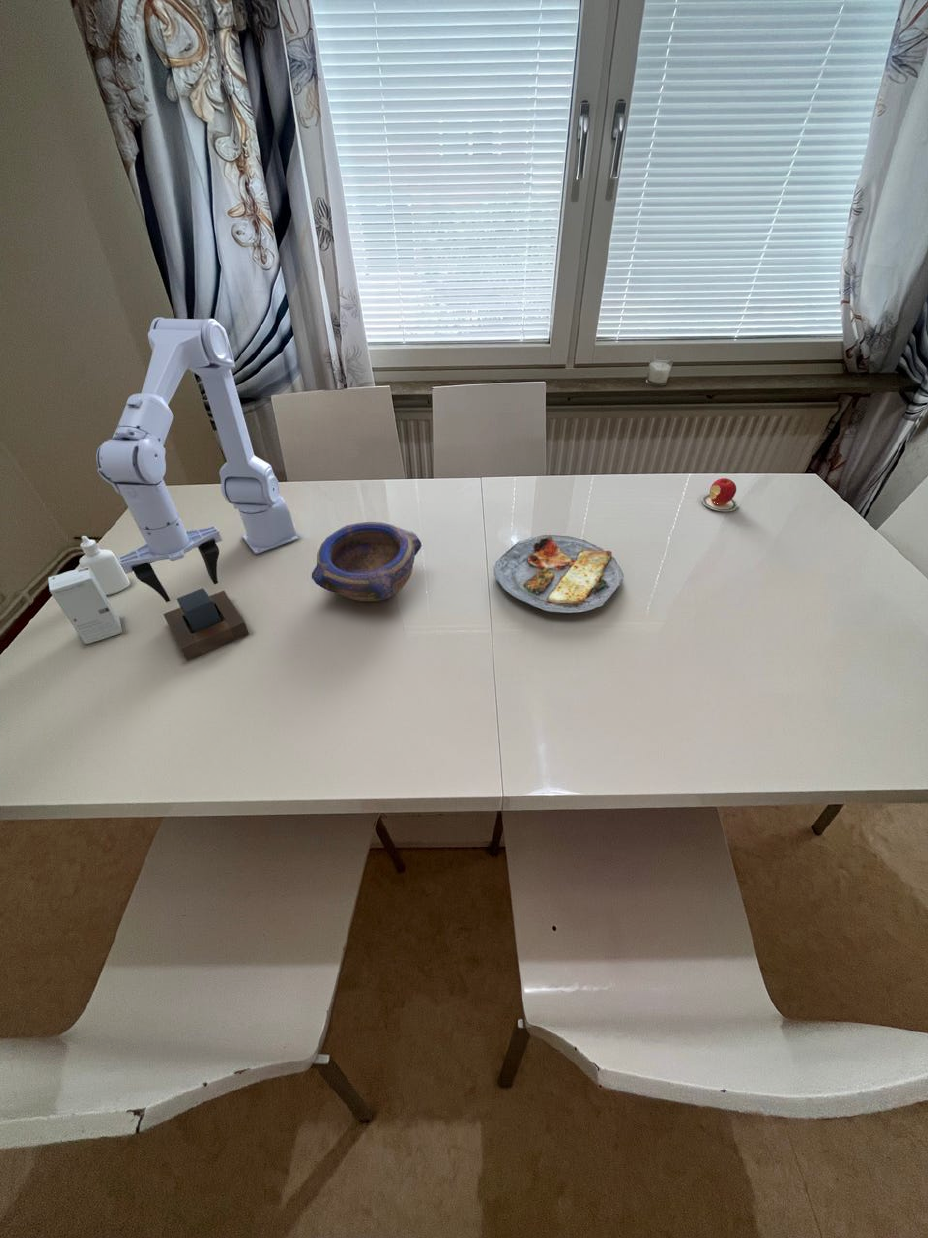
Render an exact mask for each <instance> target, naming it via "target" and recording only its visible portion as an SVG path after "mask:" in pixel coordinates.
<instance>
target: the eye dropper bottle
mask: <svg viewBox="0 0 928 1238" xmlns="http://www.w3.org/2000/svg"><path fill="white" fill-rule="evenodd" d="M81 540H82V542H81V543H80V545H79V546H80V549H81V550H82V551H83V553H84V555H83V556H82V557H80V558H79V565H80V567H81V568H85V567H90V569H91V571H92V573H93V574H94V576H95V578H96V580H97V581H98V583H99V585H100V586H101V588H102V590H103V592H104V593H105V595H106V596H109V595H114V594H116V593H119V592H121V591H123V590H125V589H127V588H129V587H130V585H131V581H130V580H129V578H128V576H127V574H125V572H124V570H123V568H122V567H121V565H120V563H119V561H118V558H117V556H116V555H115V554H114V552H113V551H112V550H111V549H105V548H103V549H101V548H100V546H99V544H98V543H97V541H96V540H94V539H89V537H88V536H86V535H82V536H81Z"/></svg>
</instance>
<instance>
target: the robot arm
mask: <svg viewBox="0 0 928 1238" xmlns="http://www.w3.org/2000/svg"><path fill="white" fill-rule="evenodd" d="M226 330H227V329H225V327H223V326H222V324H220V323H219V322H218V321H217V320H216V319H214V318H206V319H199V318H198V319H196V318H194V319H193V318H191V319H190V318H164V317H155V318H154V319H153V320H152V321H151V323H150V327H149V331H148V333H147V339H148V343H149V347H150V350H151V356H150V360H149V363H148V368H147V371H146V375H145V379H144V382H143V386H142V389H141V393H134V394H131V395H129V397H128V398H127V401H126V403H125V407H124V408H123V411H122V414H121V416H120V418H119V421H118V423H117V427H116V428H115V431H114V433H113V436H112V439H107V441H106V440H105V441H104V442H103V443H102V444H100V445H99V447H98V448H97V450H96V455H95V459H96V460H95V461H96V465H97V474H98V475H99V476H100V477H101V478H102V479H103V480H104V481H105V482H107V483H109V484H110V485H111V486H112V487H113V489H114V491H115V493H116V494H118V495H119V496H121V497H122V498H123V500H124V502H125V504H126V506H127V508H128V510H129V512H130V514H131V516H132V518H133V520H134V522H135V524H136V525H137V528H138V530H139V531H140V533H141V535H142V537H143V540H144V541H145V543H146V544H144V545H141V546H140V547H138V548H135V549H134V550H132V551H130V552H129V553H126V554H123V555H121V556H118V557H117V560H118V562H119V564H120V566H121V567H122V569H123V571H124V573H125V574H126V575H128V574H131V573H134V575H135V577H136V578H137V579H138V580H139V581H140V582H141V583H143V584H145V585H147V586H148V587H150V588H151V589H153V590H154V592H156V593H157V594H159V596H160V597H162V599H163V600H164V601H165V603H169V602H171V601H172V599H171V598H170V596H169V595H168V592H167V591H166V588H165V587H164V585H163V584H162V582H161V581H160V580H159V578H158V576H157V574H156V571H155V570H154V568H153V567H152V565H151V564H152V563H155V562H159V561H165V560H169V561H170V562H175V561H178V560H182V559H184V558H185V554H186V553H188V552H190V551H192V550H193V549H196V548H197V549H198V551H199V553H200V556H201V558H202V560H203V562H204V565H205V568H206V572H207V574H208V576H209V578H210V580H211V581H212V583H213V585H216V584H219V581H218V573H217V572H218V569H217V567H218V560H219V556H220V548H219V546H218V545H217V543H221V542H223V538H222V536H221V534H220V531H219V529H218V528H217V527H216V525H212V526H210V527H205V528H199V529H193V530H192V529H191V530H186V528H185V525H184V523H183V520H182V519H181V517H180V514H179V512H178V510H177V508H176V505H175V503H174V501H173V499H172V495H171V493H170V492H169V490H168V487H167V484H166V482H165V480H164V476H165V475H166V471H167V462H166V453H167V452H166V448H165V443H166V440H167V438H168V434H169V431H170V429H171V427H172V423H173V420H174V413H173V412H172V409H171V408H170V407H169V405H170V404H171V403H170V402H171V401H172V399H173V397H174V395H175V392H176V390H177V389H178V387H179V385H180V382H181V381H182V378H183V376H184V375H185V373H186V371H188V370H190V371H191V372H193V374H196V375H197V376H199V377H200V379H201V382H202V386H203V389H204V392H205V395H206V398H207V402H208V405H209V408H210V411H211V414H212V418H213V421H214V424H215V428H216V431H217V433H218V437H219V440H220V443H221V447H222V449H223V453H224V456H225V459H226V462H225V463H224V464H223V465H222V466H221V468H220V470H219V472H218V475H219V477H220V489H221V493H222V497H224V498H223V499H224V500H225V501H226V502H227V503H229V504H232V505H233V508H234V509H236V510H238V512H239V516H240V519H241V521H242V524H243V528H244V530H245V534H244V535H243V536H242V539H243V540H244V542H245V543H246V544H247V545H248V546H249V548H250V549H251V550H252V552H253V553H254V554H255V555H258V554H261V553H264V552H267V551H269V550H272V549H275V548H277V547H280V546H283V545H287V544H289V543H291V542H294V541H297V540H298V536H297V534H296V531H295V527H294V523H293V520H292V516H291V512H290V509H289V507H288V504H287V503H286V500H284V498H283V496H281V495H280V494H281V489H280V487H281V486H280V483H279V480H278V478H277V476H276V475H275V473H274V471H273V467H272V465H271V464H269V463H268V462H267V461H265V460H263V459H262V458H260V457H258V456H256V455H255V453H254V448H253V444H252V440H251V438H250V434H249V431H248V427H247V424H246V420H245V416H244V412H243V409H242V405H241V402H240V398H239V395H238V391H237V387H236V383H235V380H234V376H233V373H232V372H233V371H232V369H234V368H235V367H236V363H235V359H234V355H233V352H232V351H233V350H232V347H231V344H230V341H229V336H228V333H227V331H226Z"/></svg>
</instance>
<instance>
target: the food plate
mask: <svg viewBox="0 0 928 1238" xmlns="http://www.w3.org/2000/svg"><path fill="white" fill-rule="evenodd" d="M492 571H493V576H494V578H495V580H496V581H497V582H498V583H499V584H500V585H501V587H502V589H503V590H504V591H505V592H506V593H507V592H508V594H509V595H511V596H512V597H514V598H515V599H517V600H520V601H522V602H524V603H525V604H528V605H529V606H532V607H535V608H538V609H541V610H543V611H545V612H549V613H550V612H551V613H565V614H566V613H567V614H568V613H570V614H574V613H581V612H588V611H592V610H594V609H596V608H597V609H598V608H599V607H601V608H602V606H604V605H605V604H606V603H607V601H608V600H609V598H611V597H612V595H613V594H614V593H615V591H616V590H617V589H618V587H619V586H620V585H621V584H622V582H623V581H624V573H623V570H622V569H621V567H620V565H619V564H618V562H617V561H616V559H615V557H614V556H613V553H612V551H611V550H605V549H603V548H602V547H600V546H597V545H596V544H593V543H591V542H589V541H587V540H585V539H581V538H579V537H573V536H568V535H554V534H543V535H538V536H534V537H528V538H526V539H524V540H519V541H518V542H516V543H514V545H513V546H512V547H511V548H509V549H508V550H507V551H505V553H504V554H503V555H501V557H499V558H498V559H497V560H496V561H495V563H494V565H493V570H492Z"/></svg>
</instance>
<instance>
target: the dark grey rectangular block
mask: <svg viewBox="0 0 928 1238" xmlns="http://www.w3.org/2000/svg"><path fill="white" fill-rule="evenodd" d="M209 596H210V595H209V594H208V593H207V591H206V590H205V588H203V587H202V588H199V589H197V590H194V591H192V592H189V593H187V594H185V595H182V596H180V597H177V598H176V601H177V603H178V606H179V608H180V607H181V609H182V611H183V613H184V615H185V617H186V619H187V621H188V623H189V625H190V627H189V628H190V629H191V631H192V632H193V633H195V632H198V631H200V630H202V629H205V628H207V627H210V626H212V625H215V624H217V623H219V622H222V618H221V616H220V615H218V613H217V610H216V608H215V606H214V604H213V601H212V600H211V598H210V597H209Z"/></svg>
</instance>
